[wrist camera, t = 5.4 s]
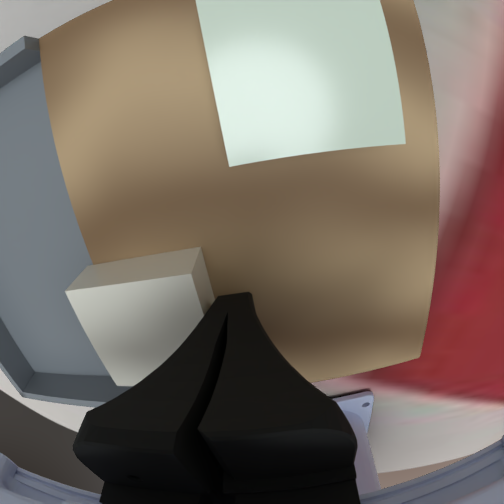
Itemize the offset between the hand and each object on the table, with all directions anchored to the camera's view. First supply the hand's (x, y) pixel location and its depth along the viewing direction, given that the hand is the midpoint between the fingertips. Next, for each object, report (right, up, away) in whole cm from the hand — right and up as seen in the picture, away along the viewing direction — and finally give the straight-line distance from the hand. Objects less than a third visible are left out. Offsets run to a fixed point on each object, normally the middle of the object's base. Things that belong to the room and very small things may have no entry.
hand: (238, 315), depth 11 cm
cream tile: (-3, 0, +1) cm, 4 cm away
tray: (-12, +2, +2) cm, 12 cm away
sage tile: (+2, +8, -3) cm, 9 cm away
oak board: (+1, +4, +1) cm, 4 cm away
